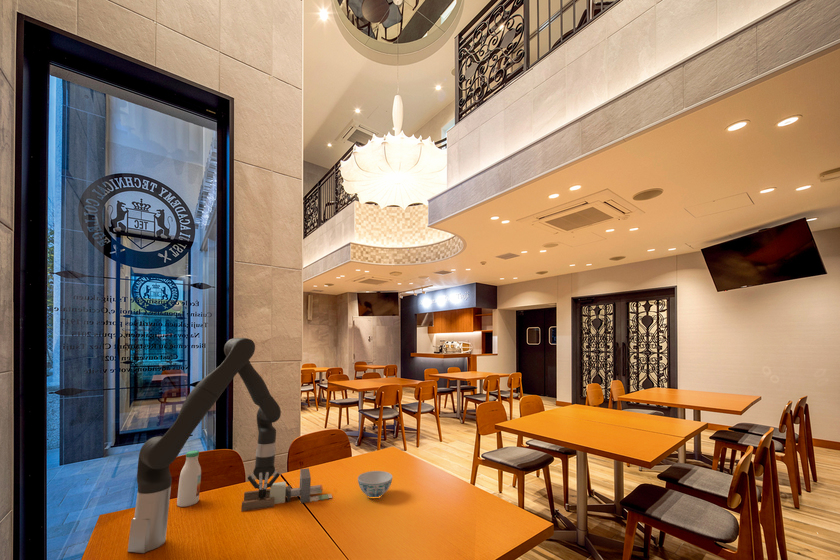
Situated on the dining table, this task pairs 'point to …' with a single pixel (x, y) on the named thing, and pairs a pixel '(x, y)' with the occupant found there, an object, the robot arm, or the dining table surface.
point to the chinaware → (375, 483)
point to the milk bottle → (189, 480)
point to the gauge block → (279, 492)
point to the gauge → (269, 502)
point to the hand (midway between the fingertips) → (262, 498)
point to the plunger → (297, 491)
